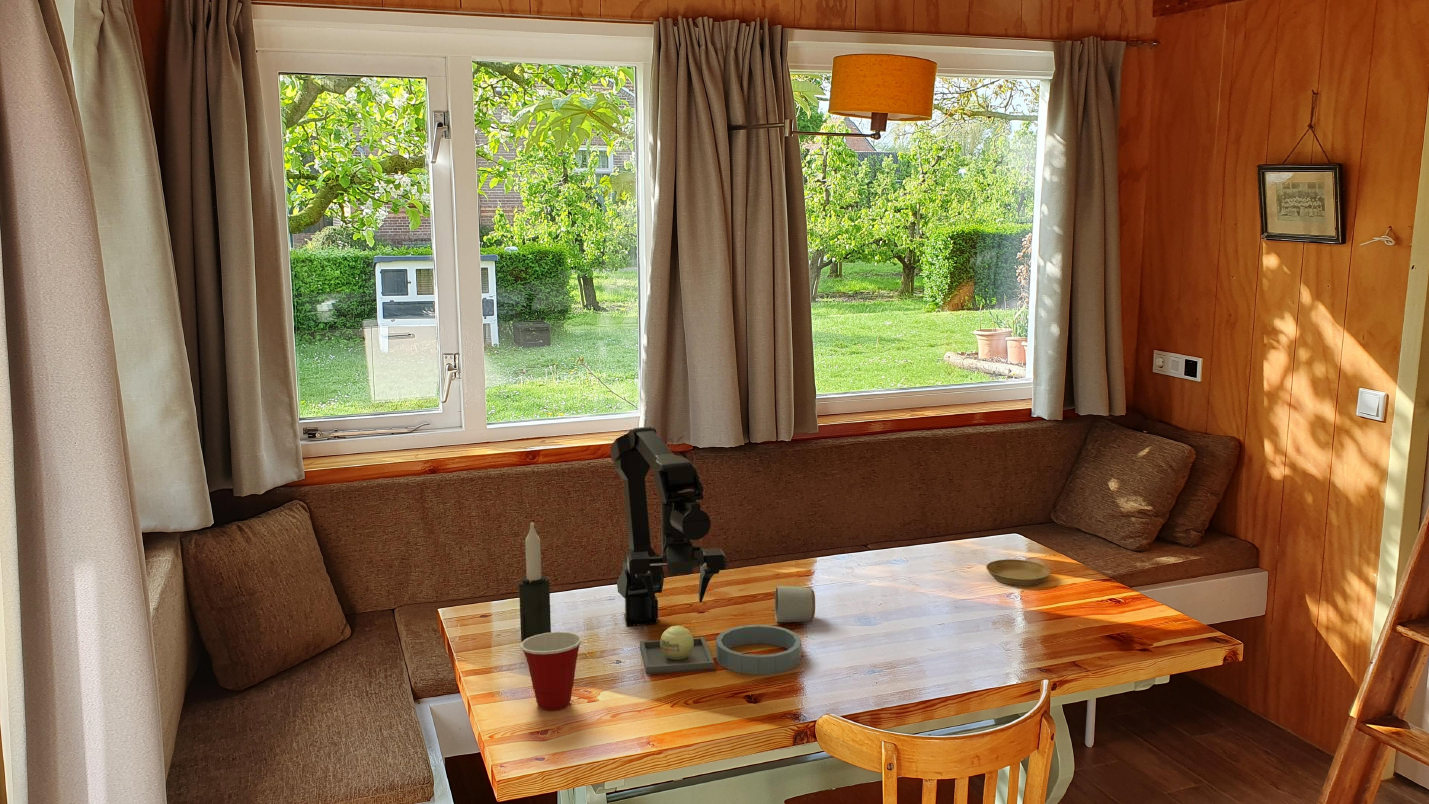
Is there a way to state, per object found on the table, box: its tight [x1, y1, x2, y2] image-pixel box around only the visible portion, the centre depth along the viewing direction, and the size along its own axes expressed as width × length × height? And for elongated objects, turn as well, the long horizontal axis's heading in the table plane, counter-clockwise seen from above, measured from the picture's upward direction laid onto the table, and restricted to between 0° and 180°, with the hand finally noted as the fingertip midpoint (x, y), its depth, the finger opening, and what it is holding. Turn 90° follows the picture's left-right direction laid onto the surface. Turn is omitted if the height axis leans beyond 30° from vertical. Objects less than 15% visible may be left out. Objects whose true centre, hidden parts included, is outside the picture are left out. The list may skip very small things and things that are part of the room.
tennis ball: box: [659, 625, 694, 660], centre depth 214 cm, size 6×7×7 cm
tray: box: [639, 636, 715, 676], centre depth 214 cm, size 13×13×2 cm
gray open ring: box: [715, 624, 802, 676], centre depth 214 cm, size 16×16×4 cm
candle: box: [518, 521, 552, 643], centre depth 221 cm, size 5×5×25 cm
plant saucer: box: [985, 558, 1052, 587], centre depth 260 cm, size 15×15×3 cm
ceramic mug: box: [774, 585, 816, 623], centre depth 235 cm, size 11×8×8 cm
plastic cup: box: [519, 631, 583, 712], centre depth 194 cm, size 11×11×12 cm
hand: (676, 603), depth 213 cm, fingers open, 9 cm apart
